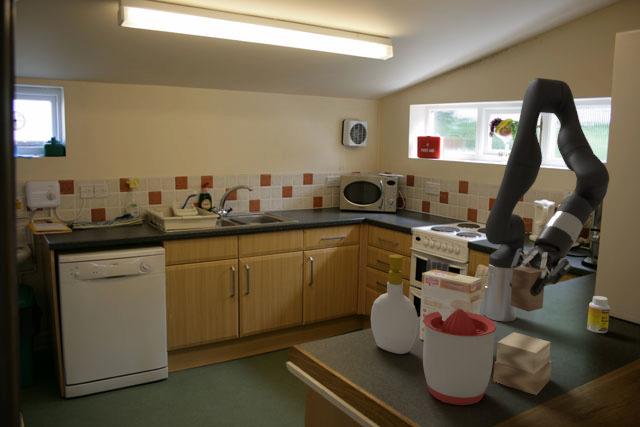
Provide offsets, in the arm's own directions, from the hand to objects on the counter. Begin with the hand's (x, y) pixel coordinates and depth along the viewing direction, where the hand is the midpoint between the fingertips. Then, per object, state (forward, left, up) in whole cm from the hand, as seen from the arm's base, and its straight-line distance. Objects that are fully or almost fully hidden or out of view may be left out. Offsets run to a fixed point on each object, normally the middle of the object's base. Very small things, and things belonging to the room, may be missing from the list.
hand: (522, 290), depth 123 cm
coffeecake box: (-25, +8, -23) cm, 34 cm away
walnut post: (0, +2, -4) cm, 5 cm away
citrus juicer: (-7, -15, -23) cm, 28 cm away
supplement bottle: (-2, +51, -23) cm, 56 cm away
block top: (0, +2, -18) cm, 18 cm away
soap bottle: (-32, -7, -23) cm, 40 cm away
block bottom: (0, +2, -23) cm, 23 cm away
